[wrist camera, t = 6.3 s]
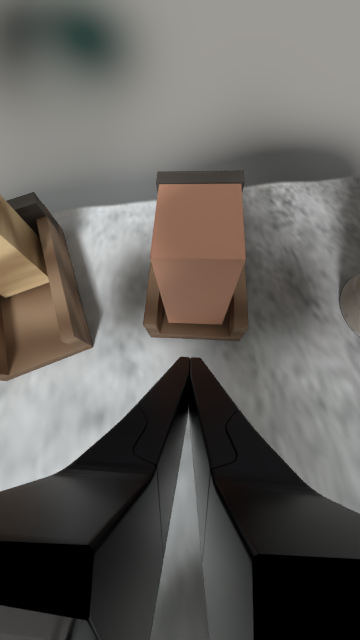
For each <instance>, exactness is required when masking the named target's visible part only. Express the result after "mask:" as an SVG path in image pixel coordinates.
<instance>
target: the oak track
mask: <svg viewBox="0 0 360 640" xmlns="http://www.w3.org/2000/svg"><path fill="white" fill-rule="evenodd" d="M6 202H7V203H8V204H9V205H10V206H11V207H12V208H13V209H14V210H15V211H16V213H17V214H18V215H19V216H20V217H21V218H22V219H23V220H24V221H25V222H26V223H27V225H28V226H29V227H30V228H31V229H32V230H33V231H34V232H35V233H36V234H37V235H38V237H39V238H40V240H41V245H42V250H43V255H44V259H45V264H46V269H47V274H48V279H49V283H46V284H43V285H40V286H38V287H35V288H32V289H29V290H26V291H24V292H21V293H18V294H15V295H12V296H10V297H7V298H5V297H3V296H1V295H0V380H2V381H8V380H10V379H13V378H15V377H18V376H20V375H23V374H26V373H28V372H31V371H33V370H36V369H38V368H41V367H44V366H46V365H49V364H51V363H54V362H56V361H59V360H61V359H64V358H67V357H69V356H72V355H74V354H77V353H79V352H82V351H84V350H87V349H90V348H92V347H93V345H92V341H91V337H90V334H89V330H88V326H87V322H86V318H85V314H84V310H83V307H82V303H81V299H80V295H79V291H78V287H77V283H76V280H75V276H74V272H73V268H72V264H71V260H70V257H69V253H68V249H67V245H66V241H65V237H64V233H63V230H62V228H61V227H60V226H59V224H58V223H57V222H56V220H55V219H54V218H53V216H52V215H51V214H50V212H49V211H48V209H47V208H46V207H45V205H44V204H42V202H41V201H40V200H39V199H38V197H37V196H36V194H35V193H34V192H33V193H30V194H26V195H23V196H20V197H17V198H14V199H11V200H8V201H6Z"/></svg>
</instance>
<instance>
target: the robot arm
mask: <svg viewBox="0 0 360 640" xmlns="http://www.w3.org/2000/svg"><path fill="white" fill-rule="evenodd" d="M188 410H189V421H190V432H191V444H192V455H193V466H194V477H195V488H196V499H197V510H198V522H199V533H200V544H201V555H202V563H203V565H202V566H203V578H204V589H205V600H206V611H207V622H208V633H209V640H360V514H359V513H357V512H355V511H353V510H350V509H348V508H346V507H344V506H342V505H340V504H338V503H336V502H334V501H331V500H329V499H327V498H325V497H324V496H322V495H320V494H319V493H317V492H316V491H315V490H313V489H312V488H311V487H310V486H308V485H307V484H306V483H305V482H304V481H303V480H302V479H301V478H300V477H299V476H298V475H297V474H296V473H295V472H294V471H293V470H292V469H291V468H290V467H289V466H288V465H287V464H286V462H285V461H284V460H283V459H282V458H281V457H280V456H279V455H278V454H277V453H276V452H275V451H274V450H273V449H272V448H271V447H270V445H269V444H268V443H267V442H266V441H265V440H264V439H263V438H262V437H261V436H260V435H259V433H258V432H257V431H256V430H255V429H254V428H253V427H252V425H251V424H250V423H249V422H248V420H247V419H246V418H245V416H244V415H243V414H242V412H241V411H240V410H239V409H238V407H237V406H236V405H235V403H234V402H233V401H232V399H231V398H230V397H229V395H228V394H227V393H226V391H225V390H224V389H223V387H222V386H221V385H220V383H219V382H218V381H217V379H216V378H215V377H214V375H213V374H212V373H211V371H210V370H209V369H208V367H207V366H206V365H205V363H204V362H203V361H202V359H201V358H195V357H192V358H191V359H190V358H189V357H180V358H179V359H178V360H177V361H176V362H175V363H174V364H173V366H172V367H171V368H170V369H169V370H168V371H167V372H166V373H165V374H164V375H163V376H162V377H161V378H160V380H159V381H158V382H157V383H156V384H155V385H154V386H153V387H152V388H151V389H150V390H149V391H148V393H147V394H146V395H145V396H144V397H143V398H142V399H141V400H140V401H139V402H138V404H136V405H135V406H134V408H133V409H132V410H131V411H130V412H129V413H128V414H127V415H126V416H125V417H124V418H123V419H122V420H121V421H120V422H119V423H118V424H117V425H115V426H114V427H113V428H112V429H111V430H110V431H109V432H108V433H107V434H105V435H104V436H103V437H102V438H101V439H100V440H98V441H97V442H96V443H95V444H94V445H93V446H91V447H90V448H89V449H88V450H87V451H86V452H85V453H83V454H82V455H81V456H80V457H79V458H78V459H76V460H75V461H74V462H73V463H71V464H70V465H69V466H67V467H66V468H64V469H63V470H61V471H59V472H58V473H56V474H53V475H51V476H48V477H46V478H42V479H39V480H36V481H33V482H30V483H26V484H23V485H20V486H17V487H14V488H10V489H7V490H4V491H1V492H0V640H150V636H151V630H152V624H153V618H154V612H155V607H156V601H157V595H158V589H159V583H160V577H161V571H162V565H163V558H164V553H165V548H166V542H167V536H168V530H169V524H170V518H171V512H172V506H173V501H174V495H175V489H176V483H177V477H178V471H179V465H180V459H181V454H182V448H183V442H184V436H185V430H186V424H187V418H188Z"/></svg>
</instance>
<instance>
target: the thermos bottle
mask: <svg viewBox="0 0 360 640" xmlns="http://www.w3.org/2000/svg"><path fill="white" fill-rule="evenodd" d="M340 307H341V311H342V314H343V316H344V318H345V320H346V322H347V324H348V325H349V326H350V328H351V329H352V330H353V331H354V332H355V333H356V334H357V335H358V336H359V337H360V272H359V273H358V274H357V275H355V276H354V277H353V278H351V279H350V280H349V281H348V282H347V283H346V285H345V286H344V288H343V290H342V292H341V297H340Z"/></svg>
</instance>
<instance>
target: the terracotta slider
mask: <svg viewBox="0 0 360 640" xmlns="http://www.w3.org/2000/svg"><path fill="white" fill-rule="evenodd" d="M150 259H151V263H152V266H153V270H154V273H155V277H156V280H157V284H158V287H159V291H160V294H161V298H162V301H163V305H164V308H165V312H166V315H167V318H168V322H169V323H191V324H220V325H222V323H223V320H224V317H225V314H226V312H227V309H228V306H229V304H230V301H231V298H232V295H233V293H234V290H235V287H236V285H237V282H238V279H239V276H240V274H241V271H242V268H243V266H244V263H245V260H246V253H245V236H244V219H243V202H242V186H241V184H159V189H158V198H157V205H156V213H155V221H154V230H153V238H152V246H151V254H150Z"/></svg>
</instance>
